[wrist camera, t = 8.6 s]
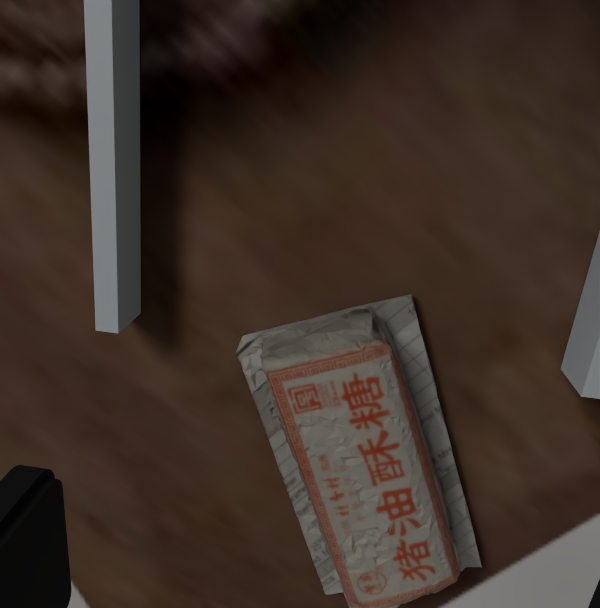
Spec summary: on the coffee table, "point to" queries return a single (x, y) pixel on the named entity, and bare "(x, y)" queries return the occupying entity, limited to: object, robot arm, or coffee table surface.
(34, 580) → the robot arm
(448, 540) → the packaged product
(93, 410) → the coffee table surface
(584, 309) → the open frame
